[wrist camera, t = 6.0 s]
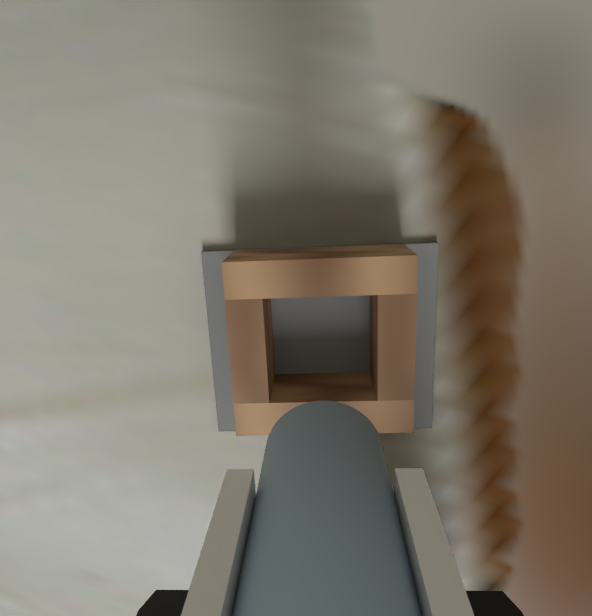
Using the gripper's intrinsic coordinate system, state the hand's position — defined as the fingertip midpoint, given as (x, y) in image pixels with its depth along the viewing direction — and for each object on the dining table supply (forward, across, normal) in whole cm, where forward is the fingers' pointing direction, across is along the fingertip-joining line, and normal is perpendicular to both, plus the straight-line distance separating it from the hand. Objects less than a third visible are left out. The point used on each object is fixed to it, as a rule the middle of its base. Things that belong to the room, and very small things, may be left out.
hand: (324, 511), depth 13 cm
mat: (+17, 0, -1) cm, 17 cm away
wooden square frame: (+17, 0, 0) cm, 17 cm away
